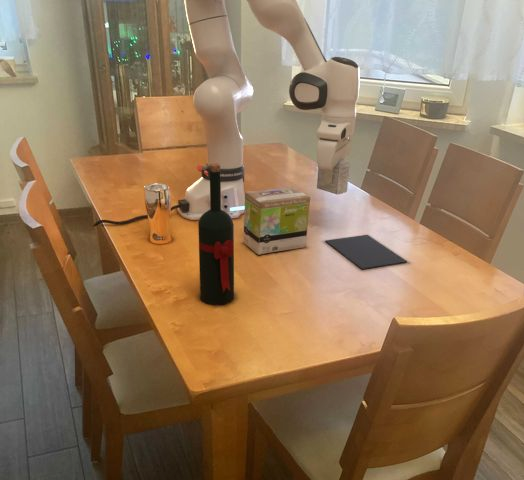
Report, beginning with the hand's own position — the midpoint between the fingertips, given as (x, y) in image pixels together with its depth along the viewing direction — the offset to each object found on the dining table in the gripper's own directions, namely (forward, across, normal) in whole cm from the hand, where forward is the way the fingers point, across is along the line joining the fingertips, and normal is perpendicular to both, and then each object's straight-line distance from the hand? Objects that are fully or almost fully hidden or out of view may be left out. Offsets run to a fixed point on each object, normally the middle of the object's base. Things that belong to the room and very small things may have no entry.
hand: (332, 178), depth 153 cm
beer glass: (+16, +27, -40) cm, 51 cm away
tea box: (+16, +16, -10) cm, 25 cm away
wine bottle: (+16, +52, -10) cm, 55 cm away
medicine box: (+4, 0, 0) cm, 4 cm away
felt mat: (+16, +9, +14) cm, 23 cm away
